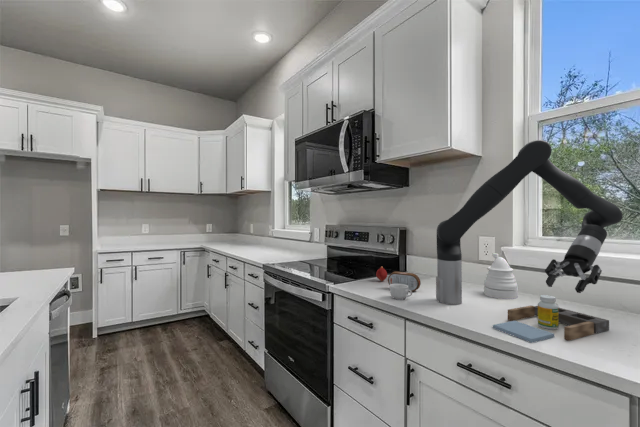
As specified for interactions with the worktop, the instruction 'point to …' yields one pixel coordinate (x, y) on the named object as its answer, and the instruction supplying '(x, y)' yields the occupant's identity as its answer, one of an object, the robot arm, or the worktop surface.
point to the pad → (524, 331)
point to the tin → (405, 280)
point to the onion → (381, 274)
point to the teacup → (399, 291)
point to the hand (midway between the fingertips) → (562, 288)
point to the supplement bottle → (548, 312)
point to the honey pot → (500, 280)
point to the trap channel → (566, 321)
